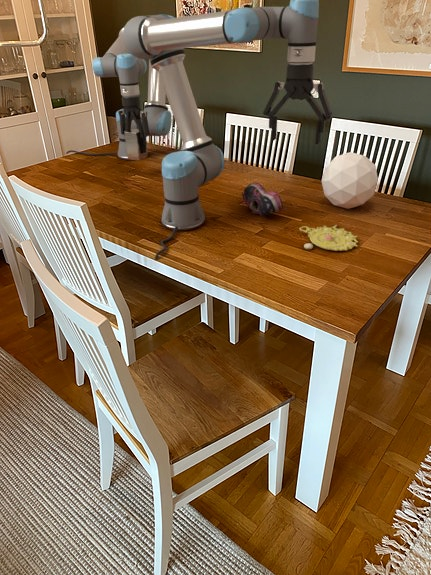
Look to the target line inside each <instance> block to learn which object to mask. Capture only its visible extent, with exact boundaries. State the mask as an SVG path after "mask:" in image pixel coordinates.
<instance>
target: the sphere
mask: <svg viewBox="0 0 431 575" xmlns="http://www.w3.org/2000/svg"><path fill="white" fill-rule="evenodd" d="M378 181H379V178H378V172H377V166H376V164H375V163H373V161H372V160H370V159H369V158H368V157H367V156H366V155H364V154H360V153H356V152H352V151H349V152H345V153H342V154H340V155H336V156H335V157H333V159H332V160H331V161H330V162H329V163H328V164H327V165H326V166H325V168H324V170H323V174H322V178H321V181H320V182H321V185H322V186H321V187H322V191H323V195H324V196H325V198H327V200H329V202H330V203H331V204H332V205H333V206H336V207H340V208H343V209H347V210H349V209H352V208H353V209H354V208H356V207H359V206H363V205H364V204H365V203H366V202H367V201H369V200H370V199H371V198H372V197H373V196H374V195H375V192H376V188H377V184H378Z"/></svg>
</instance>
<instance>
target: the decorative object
mask: <svg viewBox="0 0 431 575" xmlns="http://www.w3.org/2000/svg"><path fill="white" fill-rule="evenodd" d="M303 228H304V229H305V230H304V229H303ZM299 231H300V232H303V233H305V234H307V237H308V238H309V240H310V241H311V243H304V244H303V248H304V249H305V250H313V249H314V245H315V246H316V247H318V248H321V249H324V250H328V251H335V252H341V251H348V250H352V249H354V247H356V248H358V247H359V245H358V244H357V243H359V240H357V238H359V237H358V235H353V234H352V231H347V230H346V229H345V228H344V227H342V228H338V224H335V225H333V226H331V227H328V226H327V225H326V224H325V225H323V226H322V227H321V226H317V227H316V228H314V227H309V226H308V225H302V226H300V227H299ZM313 244H314V245H313Z"/></svg>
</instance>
